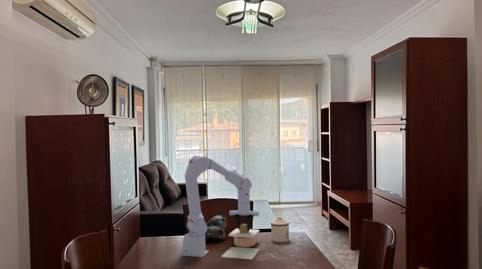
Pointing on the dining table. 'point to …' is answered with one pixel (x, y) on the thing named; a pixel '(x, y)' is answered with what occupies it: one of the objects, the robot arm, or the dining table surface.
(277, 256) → the dining table surface
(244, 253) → the mat
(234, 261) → the dining table surface
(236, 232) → the cover plate
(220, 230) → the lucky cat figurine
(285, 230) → the teacup with lid
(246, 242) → the bowl
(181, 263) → the dining table surface
